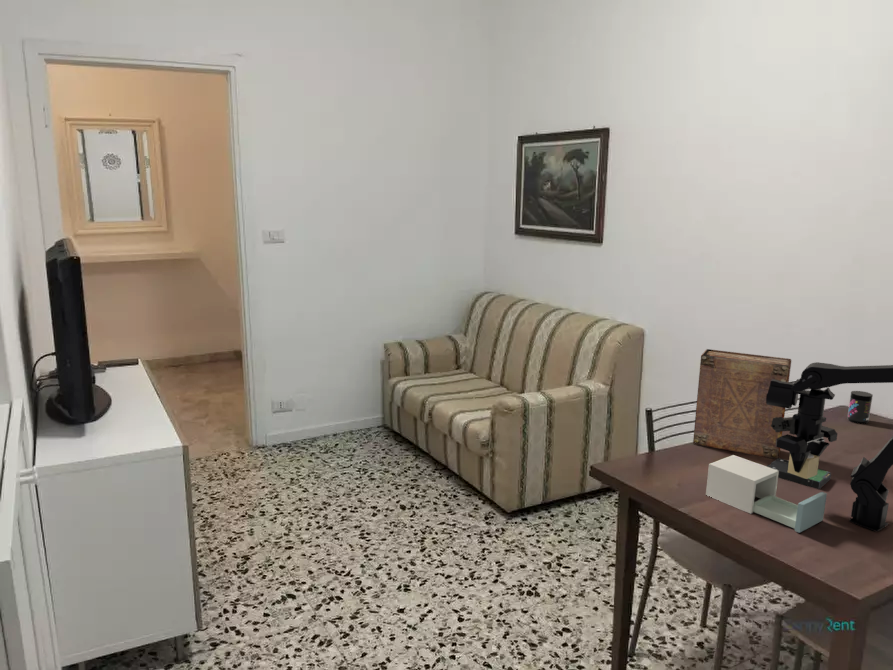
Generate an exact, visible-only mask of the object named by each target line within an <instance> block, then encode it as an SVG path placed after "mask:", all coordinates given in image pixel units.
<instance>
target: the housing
mask: <svg viewBox="0 0 893 670" xmlns="http://www.w3.org/2000/svg"><path fill="white" fill-rule="evenodd" d="M766 466H767V465H763V464H761V463H758V462H754V461H752V460H750V459H749V460H748V459H746V458H744V457H740V456H737V455H734V454H732V455H730V456H727V457H724V458H721V459H719V460H716V461H714V462H711V463H708V470H707V477H706V479H707V481H706V489H705V496H706V495H707V496H706V497H709V496H710V498H711V497H712V499H714V500H717V501H718V500H719V501H718V502H721V503H724V504H726V505H729V506H730V507H732V508H733V507H734V508H735V509H738V510H740V511H743V512H745V513H748V514H750V515H752V514H753V513H754V512H753V506H754V502H755V498H758V499H762V498H764V497H766V496H769V495H773V496H776V497H777V487H778V481H779V478H778V474H779V471H778V470H775V469H772V468H769V467H766Z"/></svg>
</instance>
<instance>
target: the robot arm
mask: <svg viewBox="0 0 893 670" xmlns="http://www.w3.org/2000/svg"><path fill="white" fill-rule="evenodd" d="M885 383H886V384H887V383H888V384H889V383H891V384H892V383H893V364H887V365H882V364H881V365H857V366H856V365H855V366H854V365H853V366H849V365H848V366H844V365H838V364H832V363H825V362H816V361H815V362H812V363H810V364H808V365H807V366H806V368H804V370H802V373H800V378H798V379H796V380H795V381H794V383H793V382H790V381H789V382H783V381H779V380H775V379H773V380H771V382H770V386H769V390H768V393H767V395H766V404H767V405H772V406H777V407H783V408H785V409H789V410H790V409H791V408H792V407H796V406H797V404H798V409H797V413H794V414H793V415H792V416H791V417H789V416H788V417H784V418H782V417H775V418H773V420H772V424H771V427H772V428H773V429H774V430H775V432H780V431H782V432H789V434H788V433H787V434H784V435H782V436H781V437H779V438H777V439H776V447H778V448H780V450H785V451H787V452H789V455H790V454H791V457H792V462H793V466H794V470H795V472H798V473H799V472H800V471H801V469H802V467H803V465H804V463H805V461H806V459H807V458H808V456H809V454H813V455H816V456H819V457H820V456H821V455H822V454H823V452H825V450H826V449H827V447H829V446H830V443H833V442H836V441H837V439H838V432H837V431H836V430H835V429H834V428H831V427H828V426H824V425H823V423H825V422H827V417H825V416H824V412H825V404H826V400H830V401H831V400H833V399H834V398H835V396H836V394H835V393H833V392H832V391H831V389H830V388H831V387H834V386H839V385H842V384H843V385H845V384H885ZM808 389H810V390H808ZM798 398H799V399H798ZM798 400H799V401H798ZM794 435H795V436H794ZM825 438H826V439H827V440H828V442H826V441H825ZM829 442H830V443H829ZM892 466H893V435H892V436H891V437H890V438H889V440H888V441H887V442H886V443H885V444H884V445H883V447H882V448H881V449H880V450H879V451H878V453H876V455H875V456H874V457H872V458H870V459H869V460H868V459H867V458H866V457H864V456H863V457H862V458H861V461H860V463H859V464H858V465H857V466H854V467H853V470H852V471H851V474H850V478H851V480H850V484H849V485H850V488H851V490H852V491H853V493H854V494H856V495H857V496H856V497H855V500H854V501H852V506H851V507H852V508H851V515H850V516H851V518H849V522H850V523H852V524H855V525H857V526H861V527H863V528H865V529H868V530H871V531H874V532H877V533H878V532H879V531H881V530H882V528H883V529H884V528H885V526H886V527H887V526H888V525H889V523H888V522H887V515H888V511H889V510H888V509H889V502H887V499H888V495H889V492H890V491H889V489H888V488H887V486H885V484H883V481H884V480H885V478H886V475H888V474H887V473H888V471H889V470H890V469H891V467H892Z"/></svg>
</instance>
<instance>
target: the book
mask: <svg viewBox="0 0 893 670" xmlns="http://www.w3.org/2000/svg"><path fill="white" fill-rule="evenodd" d="M791 368H792V359H791V358H785V357H776V356H768V355H762V354H761V355H760V354H752V353H744V352H734V351H726V350H716V349H708V348H706V349H705V350H704V352H703V353H702V354H701V355H700V363H699V375H698V383H697V384H698V386H697V396H696V397H697V399H696V405H695V407H696V408H695V418H694V419H695V420H694V428H693V429H694V431H693V438H692V439H693V440H692V444H693V445H697V446H701V447H702V446H703V447H707V448H713V449H719V450H724V451H727V452H728V451H729V452H735V453H739V454H745V455H749V456H750V455H751V456H755V457H761V458H767V459H772V460H776V459H777V458H780V454H781V453H780V452H781V448H778V447H776V439H777V438H779V437H781V436H783V431H780V432H775V430H774V429H773V428H772V427H771V424H772V420H773V418H775V417H782V418H785V413H786V408H783V407H777V406H772V405H767V404H766V395H767V393H768V390H769V386H770V382H771V380H773V379H775V380H779V381H783V382H789V383H790V374H791ZM695 442H696V443H695Z"/></svg>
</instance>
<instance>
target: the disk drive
mask: <svg viewBox="0 0 893 670" xmlns="http://www.w3.org/2000/svg"><path fill="white" fill-rule="evenodd" d="M788 465H789V459H788V460H787V459H784V458H780V457H779V458H777V459H774V460H773V461H772V462H771V463H770V464H767V465H765V466H766V467H769V468H772V469H775V470H778V471H779V474H778V479H782V480H786V481H789V482H792V483H796V484H800V485H803V486H807V487H808V488H809V487H810V488H813V489H816V490H821V489H822V488H823V487H822V486H825V485H826V484H827V483H828V482H829V481H830V480H831V478H832V472H830V471H826V470H824V469H821V468H818V471H817V475H815V476H813V477H810V478H808V479H805V478H802V477H799V476H797V475H794V474H791V473H788ZM824 484H825V485H824Z"/></svg>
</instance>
